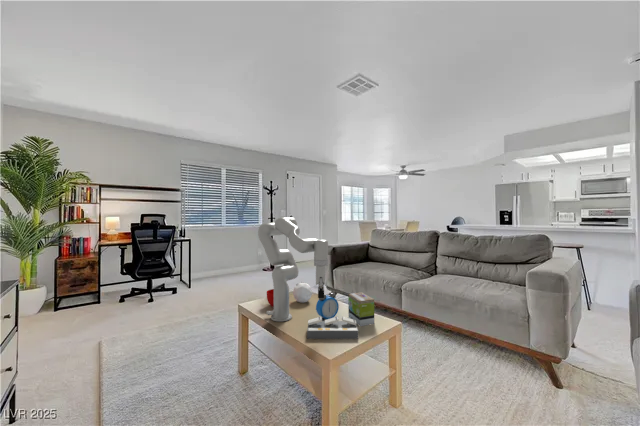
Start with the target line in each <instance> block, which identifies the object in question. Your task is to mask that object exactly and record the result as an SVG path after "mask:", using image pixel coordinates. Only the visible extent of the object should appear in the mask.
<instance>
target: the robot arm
mask: <svg viewBox="0 0 640 426" xmlns="http://www.w3.org/2000/svg"><path fill="white" fill-rule="evenodd" d="M300 232H301V231H300V228H299V227H298V223H297V220H296V218H294V217H292V216H284V217H282V216H281V217H278V218H276V220H274V222H264V223H262V224H260V225H259V227H258V228H257V236H258V239H259V241H260V243H261V245H262V247H263V249H264V251H265V254H266V257H267V260H268V262H269V264H270V265H271V266H276V267H275V268H273V270H272V271H271V279H272V285H273V289H274V307H273V310H266V315H267V316H271V317H270V319H271V320H272V321H274V322H280V323H281V322H287V321H290V320H292V319H293V318H292V317H293V315H292V314H291V313H290V287H289V285H288V283H287V282H288V281H291V280H294V279H297V278H298V276H299V268H298V266H297V263H296V260H295V257H294V256H293V254H292V252H291V251H290V250H289V249H286V248H283V249H282V248H280V247H279V245H278V242H276V240H275V239H274V238H272V237H273V236H282V235H284V236H285V237H286V238H288V241H289V245H290V246H291V247H292V248H293V249H294V250H296V251H297V252H298V253H301V254H307V253H313V266H314V267H315V285H316V286H317V285H318V286H317V298H318V299H319V298H324V294H325V284H326V277H327V276H326V273H327V272H326V271H327V266H329V241H328V240H327V239H318V238H315V237H314V238H312V237H311V238H310V237H309V238H302V237H300V236H299V235H300Z"/></svg>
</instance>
